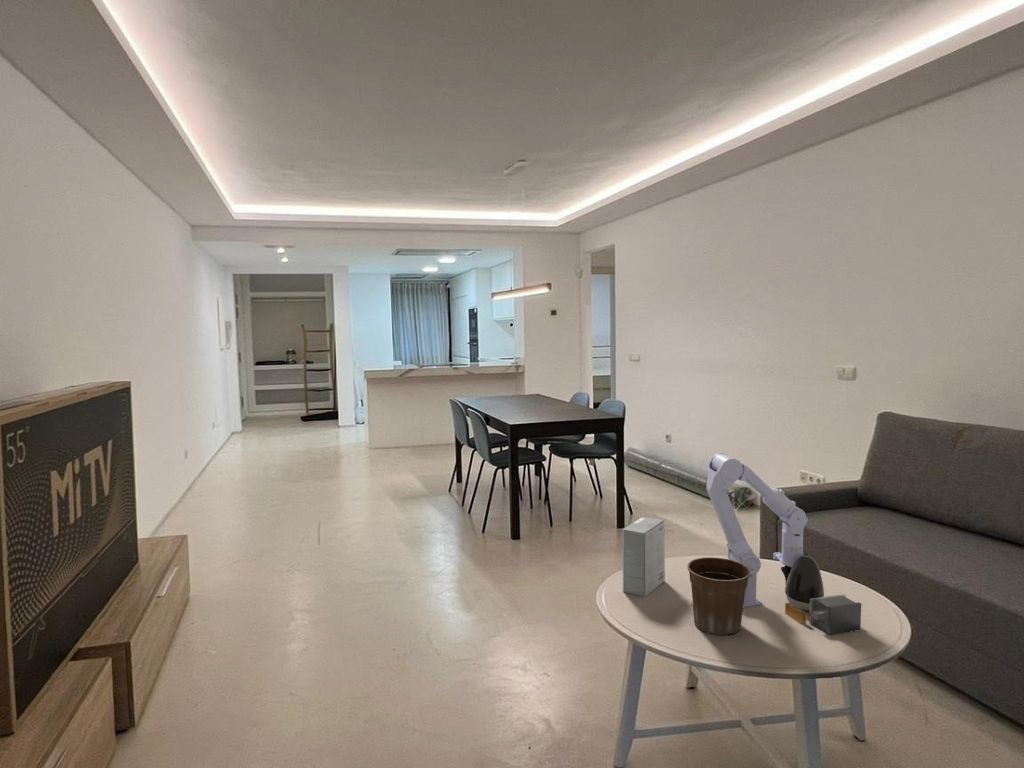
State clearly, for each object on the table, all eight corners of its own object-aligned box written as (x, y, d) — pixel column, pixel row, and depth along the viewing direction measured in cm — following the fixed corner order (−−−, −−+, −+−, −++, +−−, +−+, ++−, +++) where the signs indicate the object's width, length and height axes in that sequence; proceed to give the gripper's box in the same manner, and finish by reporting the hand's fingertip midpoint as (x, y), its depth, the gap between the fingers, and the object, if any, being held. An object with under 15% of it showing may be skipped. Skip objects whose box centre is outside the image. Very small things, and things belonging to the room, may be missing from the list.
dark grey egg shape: (822, 602, 189) (826, 552, 187) (823, 618, 179) (827, 566, 177) (784, 595, 193) (787, 547, 191) (783, 611, 183) (787, 560, 181)
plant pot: (749, 644, 165) (750, 583, 163) (683, 634, 170) (684, 575, 169) (749, 617, 180) (750, 561, 178) (689, 609, 185) (690, 554, 184)
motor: (820, 636, 168) (821, 609, 168) (785, 613, 182) (785, 588, 181) (869, 629, 172) (870, 602, 172) (831, 607, 186) (832, 582, 185)
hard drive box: (642, 575, 211) (643, 516, 209) (665, 581, 206) (666, 519, 204) (621, 591, 198) (622, 528, 196) (644, 597, 194) (645, 532, 192)
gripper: (821, 552, 184) (820, 598, 185) (787, 537, 198) (786, 579, 199) (800, 555, 182) (799, 602, 183) (767, 539, 196) (766, 582, 197)
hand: (791, 590), depth 191 cm, fingers closed, pressing on dark grey egg shape
